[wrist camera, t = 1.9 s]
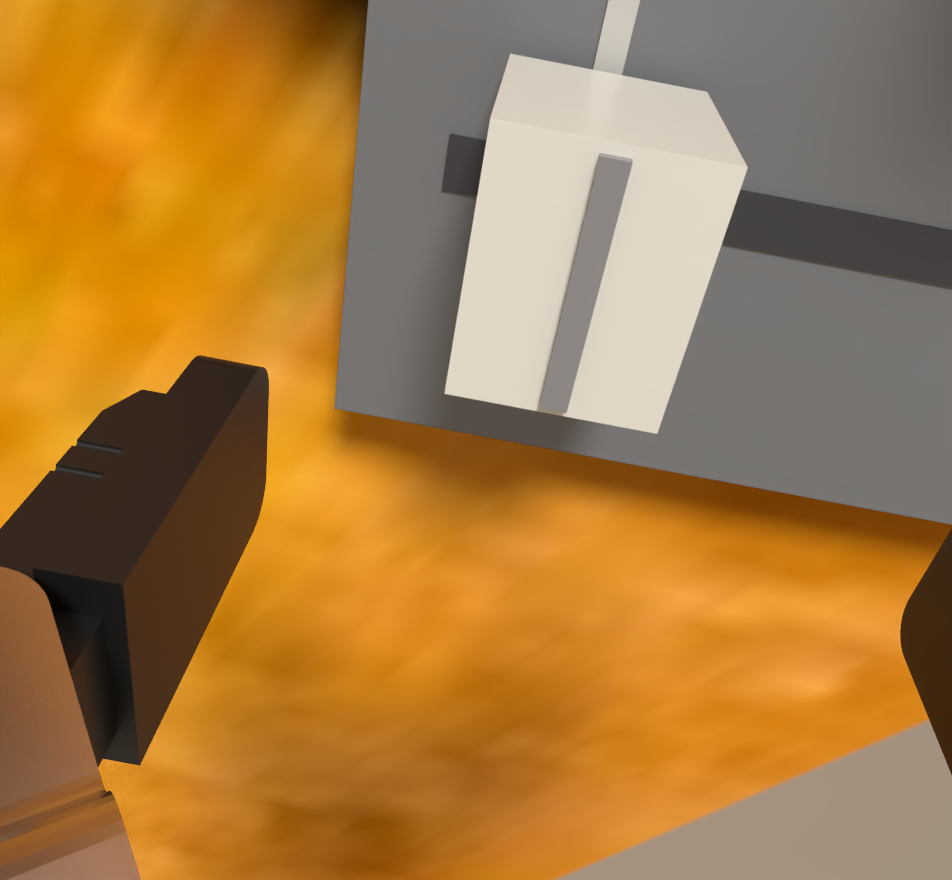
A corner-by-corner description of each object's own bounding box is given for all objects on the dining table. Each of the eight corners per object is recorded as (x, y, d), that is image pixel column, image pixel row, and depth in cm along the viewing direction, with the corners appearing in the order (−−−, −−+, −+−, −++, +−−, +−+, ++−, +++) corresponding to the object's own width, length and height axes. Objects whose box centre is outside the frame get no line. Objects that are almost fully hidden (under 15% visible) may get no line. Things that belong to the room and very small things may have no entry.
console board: (357, 354, 26) (333, 410, 23) (415, -244, 18) (388, -259, 15) (1089, 492, 26) (1145, 562, 23) (1467, -35, 18) (1613, -15, 16)
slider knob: (470, 282, 20) (443, 399, 16) (510, 53, 17) (489, 121, 13) (640, 314, 20) (658, 440, 16) (707, 91, 18) (750, 171, 13)
